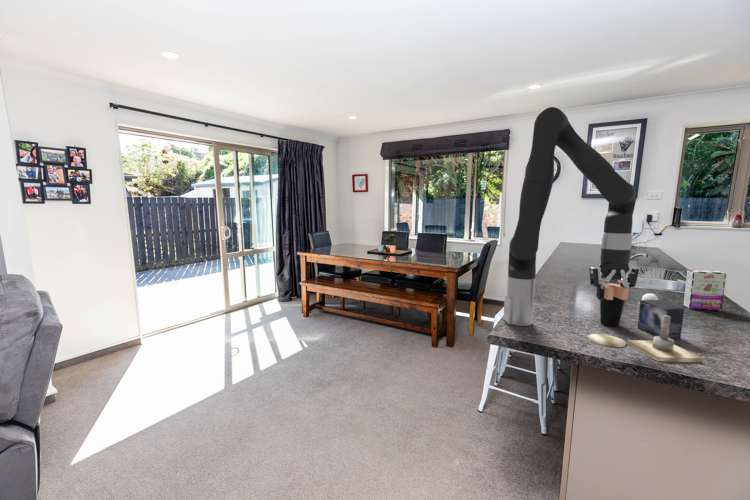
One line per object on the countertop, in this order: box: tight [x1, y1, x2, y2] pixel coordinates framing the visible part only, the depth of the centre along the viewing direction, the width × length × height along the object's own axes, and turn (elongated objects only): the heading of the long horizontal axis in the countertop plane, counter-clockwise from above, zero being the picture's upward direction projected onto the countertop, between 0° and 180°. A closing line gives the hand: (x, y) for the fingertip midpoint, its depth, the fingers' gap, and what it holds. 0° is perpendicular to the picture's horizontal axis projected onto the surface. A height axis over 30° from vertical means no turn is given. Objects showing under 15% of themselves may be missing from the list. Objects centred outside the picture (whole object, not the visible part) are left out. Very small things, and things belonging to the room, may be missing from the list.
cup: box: [599, 296, 625, 328], centre depth 122 cm, size 8×8×12 cm
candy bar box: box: [683, 269, 727, 311], centre depth 141 cm, size 11×5×16 cm, turn 73°
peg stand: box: [626, 315, 703, 363], centre depth 98 cm, size 12×12×11 cm
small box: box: [637, 299, 685, 340], centre depth 114 cm, size 11×6×10 cm, turn 5°
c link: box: [595, 283, 630, 301], centre depth 106 cm, size 6×6×4 cm
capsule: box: [641, 293, 659, 300], centre depth 136 cm, size 5×5×8 cm
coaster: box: [588, 333, 627, 348], centre depth 108 cm, size 10×10×1 cm
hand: (611, 299), depth 106 cm, fingers closed on c link, 6 cm apart
